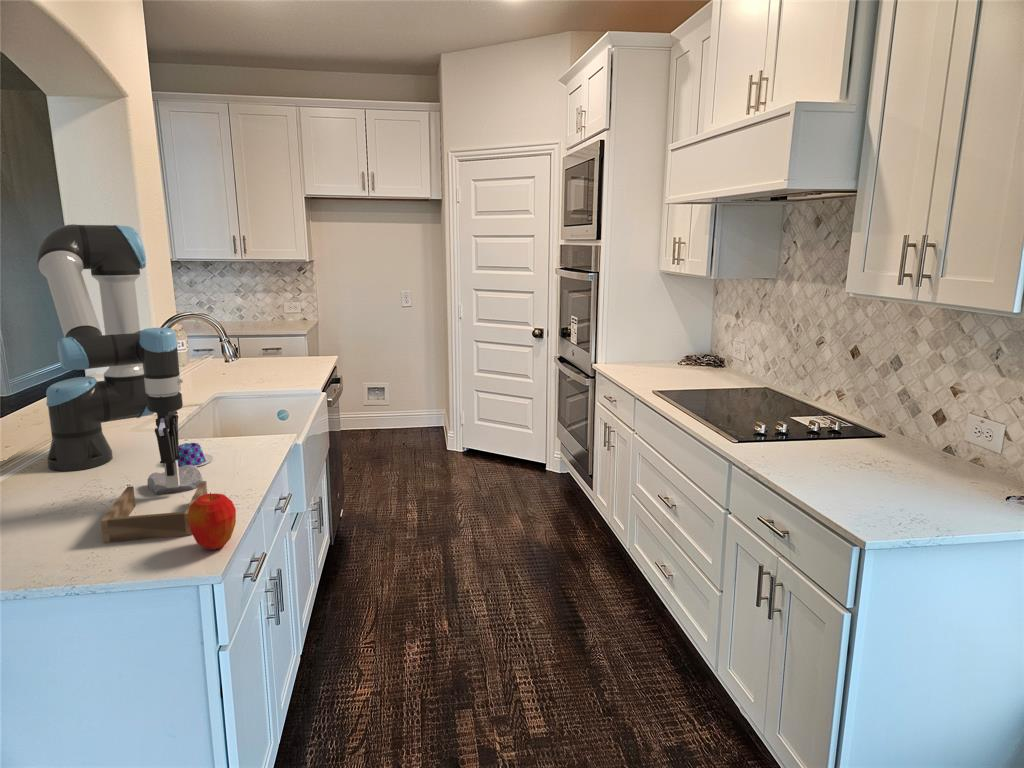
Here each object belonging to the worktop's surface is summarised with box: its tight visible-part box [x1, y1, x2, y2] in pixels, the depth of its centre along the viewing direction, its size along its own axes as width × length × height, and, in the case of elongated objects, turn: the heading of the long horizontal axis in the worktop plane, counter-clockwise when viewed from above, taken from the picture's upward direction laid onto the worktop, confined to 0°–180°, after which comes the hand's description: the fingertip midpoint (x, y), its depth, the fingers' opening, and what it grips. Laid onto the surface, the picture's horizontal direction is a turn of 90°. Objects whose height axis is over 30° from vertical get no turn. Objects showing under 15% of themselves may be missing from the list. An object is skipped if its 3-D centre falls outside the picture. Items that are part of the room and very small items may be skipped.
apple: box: [187, 492, 237, 550], centre depth 134 cm, size 9×9×12 cm
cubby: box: [100, 480, 208, 544], centre depth 147 cm, size 19×17×5 cm
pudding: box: [176, 442, 214, 468], centre depth 184 cm, size 12×12×5 cm
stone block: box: [147, 465, 204, 495], centre depth 167 cm, size 12×5×10 cm
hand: (173, 486), depth 161 cm, fingers closed
